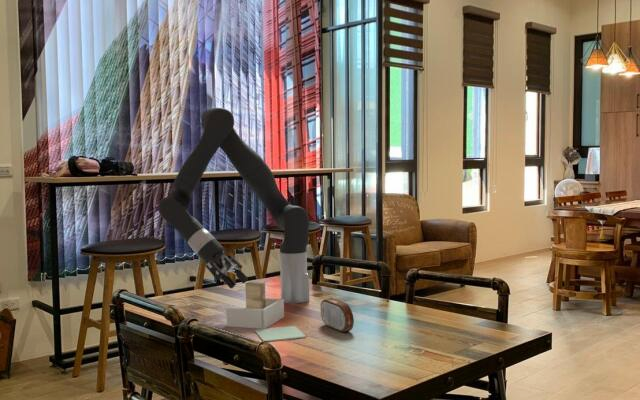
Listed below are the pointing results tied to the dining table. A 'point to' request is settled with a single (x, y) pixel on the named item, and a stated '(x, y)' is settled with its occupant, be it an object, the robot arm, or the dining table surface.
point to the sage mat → (280, 333)
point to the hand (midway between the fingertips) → (240, 283)
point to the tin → (337, 314)
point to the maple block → (255, 295)
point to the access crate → (256, 315)
